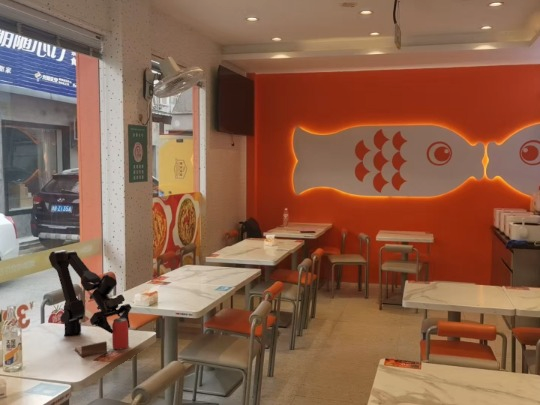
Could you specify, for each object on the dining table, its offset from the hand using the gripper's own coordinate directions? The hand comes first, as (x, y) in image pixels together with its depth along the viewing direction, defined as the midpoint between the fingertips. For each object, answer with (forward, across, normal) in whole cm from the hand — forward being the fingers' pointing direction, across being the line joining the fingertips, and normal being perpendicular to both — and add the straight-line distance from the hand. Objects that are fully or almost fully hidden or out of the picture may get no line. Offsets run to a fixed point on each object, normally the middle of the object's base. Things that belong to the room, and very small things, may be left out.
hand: (120, 330), depth 234 cm
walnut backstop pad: (+1, -10, +10) cm, 14 cm away
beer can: (+5, 0, +6) cm, 8 cm away
